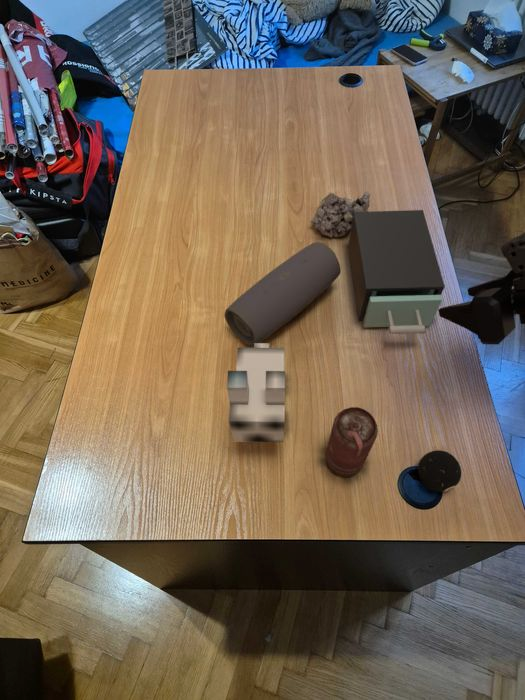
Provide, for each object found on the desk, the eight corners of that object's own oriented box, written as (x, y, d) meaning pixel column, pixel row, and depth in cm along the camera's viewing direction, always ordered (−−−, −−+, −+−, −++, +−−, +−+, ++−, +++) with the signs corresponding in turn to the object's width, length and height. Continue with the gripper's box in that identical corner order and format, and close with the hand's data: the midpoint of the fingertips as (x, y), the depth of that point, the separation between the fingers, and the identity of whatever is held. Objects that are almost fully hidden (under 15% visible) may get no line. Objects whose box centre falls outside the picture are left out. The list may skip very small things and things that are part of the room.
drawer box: (429, 319, 90) (444, 286, 81) (358, 320, 90) (366, 288, 82) (411, 245, 100) (423, 209, 92) (347, 246, 100) (353, 211, 92)
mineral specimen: (373, 196, 103) (358, 174, 95) (377, 235, 101) (362, 216, 93) (322, 212, 109) (303, 193, 101) (325, 249, 107) (306, 233, 99)
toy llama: (283, 365, 85) (284, 296, 68) (283, 459, 76) (284, 405, 59) (242, 365, 85) (233, 296, 68) (237, 458, 76) (225, 405, 59)
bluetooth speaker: (305, 266, 98) (308, 230, 89) (339, 290, 94) (345, 255, 85) (224, 330, 90) (219, 297, 81) (258, 359, 86) (256, 328, 77)
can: (333, 484, 73) (343, 453, 61) (319, 447, 76) (327, 410, 65) (369, 474, 74) (387, 441, 62) (354, 437, 77) (368, 399, 65)
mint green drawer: (435, 347, 85) (448, 321, 79) (367, 348, 85) (374, 323, 79) (412, 253, 98) (422, 225, 91) (352, 255, 98) (358, 227, 91)
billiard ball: (426, 501, 71) (437, 490, 66) (407, 465, 74) (416, 452, 69) (461, 488, 72) (474, 476, 67) (440, 453, 75) (452, 439, 70)
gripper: (594, 210, 60) (473, 232, 72) (543, 248, 49) (410, 266, 61) (602, 293, 63) (484, 300, 75) (556, 346, 52) (426, 345, 64)
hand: (454, 301), depth 68 cm, fingers open, 9 cm apart
